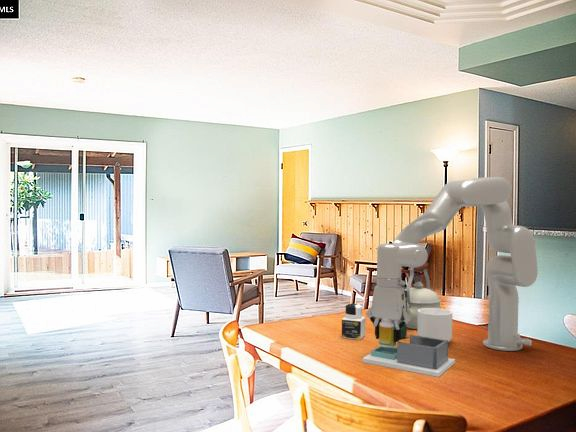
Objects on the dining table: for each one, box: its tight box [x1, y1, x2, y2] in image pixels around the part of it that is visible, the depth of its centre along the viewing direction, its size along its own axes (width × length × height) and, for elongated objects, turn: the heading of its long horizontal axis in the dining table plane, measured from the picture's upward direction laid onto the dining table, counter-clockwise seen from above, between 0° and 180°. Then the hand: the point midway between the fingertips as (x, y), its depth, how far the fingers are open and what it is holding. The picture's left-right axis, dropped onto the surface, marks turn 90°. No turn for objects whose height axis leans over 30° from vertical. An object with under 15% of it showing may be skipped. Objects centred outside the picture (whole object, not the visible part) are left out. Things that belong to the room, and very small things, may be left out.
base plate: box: [361, 345, 456, 378], centre depth 164 cm, size 24×16×3 cm, turn 56°
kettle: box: [403, 262, 442, 330], centre depth 212 cm, size 25×18×25 cm
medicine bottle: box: [341, 303, 366, 341], centre depth 194 cm, size 7×7×12 cm
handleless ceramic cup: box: [416, 308, 453, 343], centre depth 188 cm, size 12×12×11 cm
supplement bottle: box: [378, 318, 397, 348], centre depth 167 cm, size 5×5×10 cm
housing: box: [396, 334, 449, 369], centre depth 161 cm, size 12×11×6 cm
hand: (387, 339), depth 168 cm, fingers closed on supplement bottle, 5 cm apart
